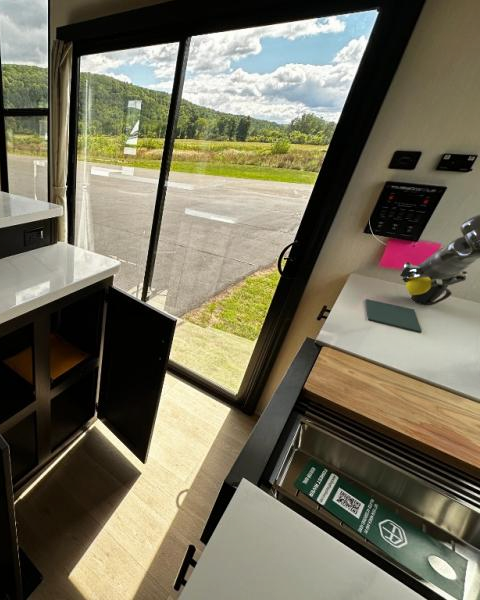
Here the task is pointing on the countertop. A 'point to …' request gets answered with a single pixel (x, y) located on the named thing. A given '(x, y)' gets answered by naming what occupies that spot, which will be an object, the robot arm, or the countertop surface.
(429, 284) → the fruit
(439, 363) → the countertop surface
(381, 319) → the mat
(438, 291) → the mug
